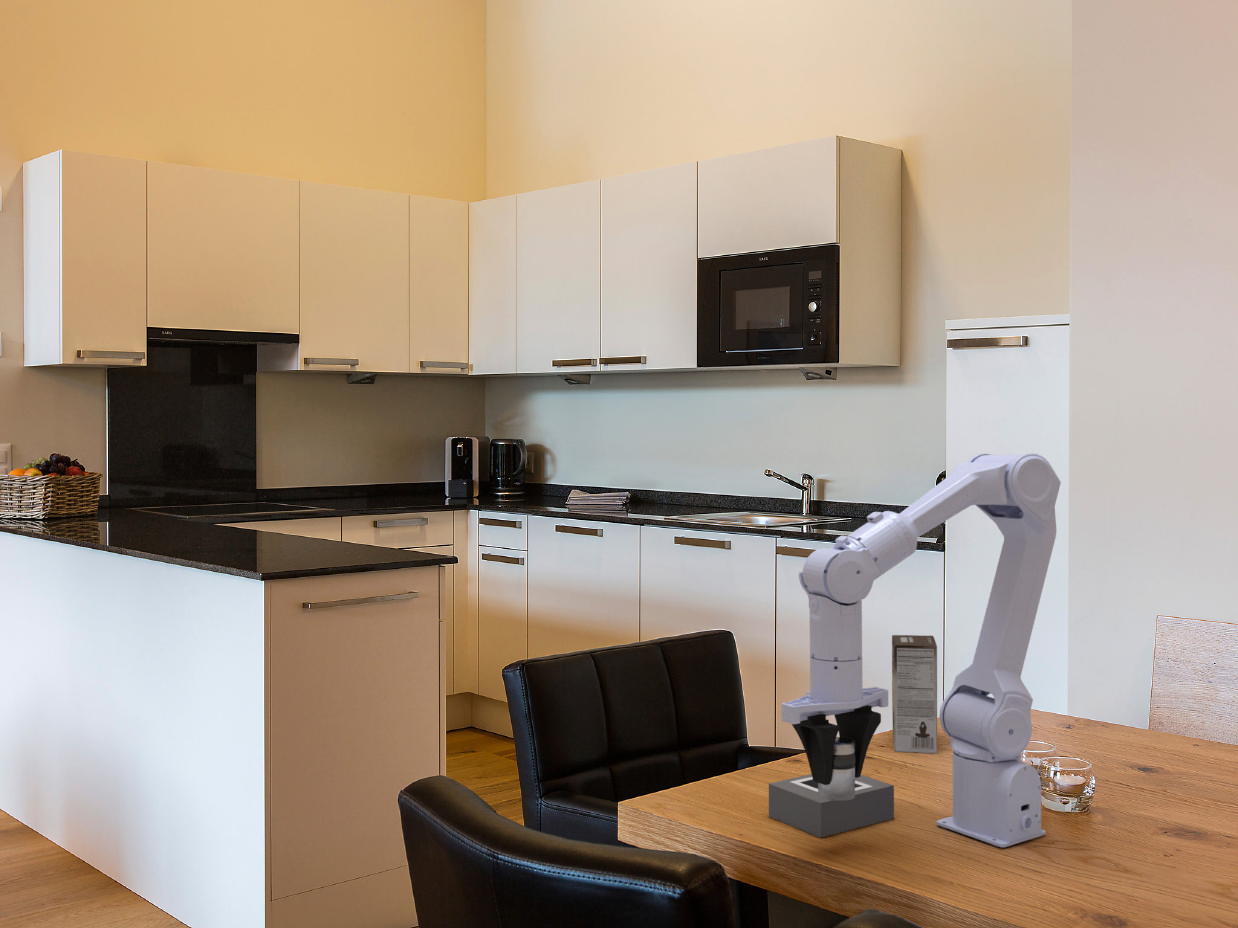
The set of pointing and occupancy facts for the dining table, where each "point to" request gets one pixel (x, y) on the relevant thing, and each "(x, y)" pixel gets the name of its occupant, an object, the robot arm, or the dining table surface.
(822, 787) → the lens
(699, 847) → the dining table surface
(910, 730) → the coffee box
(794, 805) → the grey hollow block
